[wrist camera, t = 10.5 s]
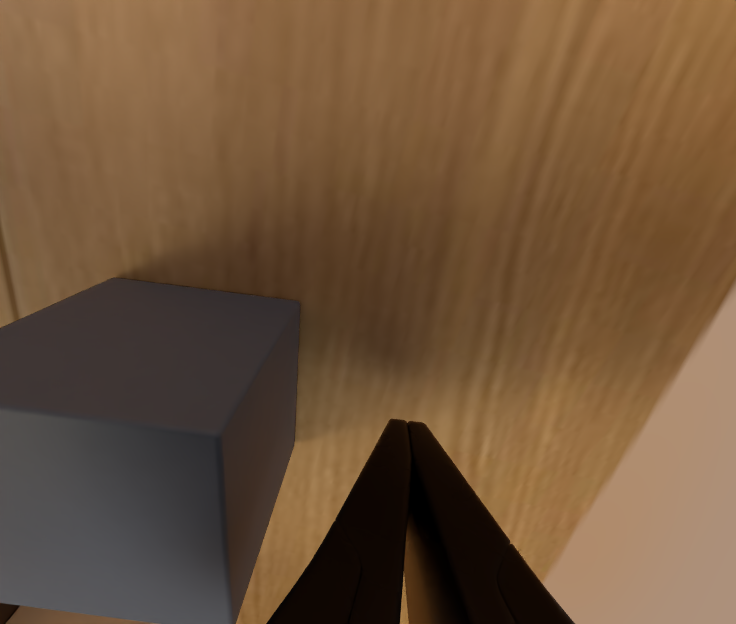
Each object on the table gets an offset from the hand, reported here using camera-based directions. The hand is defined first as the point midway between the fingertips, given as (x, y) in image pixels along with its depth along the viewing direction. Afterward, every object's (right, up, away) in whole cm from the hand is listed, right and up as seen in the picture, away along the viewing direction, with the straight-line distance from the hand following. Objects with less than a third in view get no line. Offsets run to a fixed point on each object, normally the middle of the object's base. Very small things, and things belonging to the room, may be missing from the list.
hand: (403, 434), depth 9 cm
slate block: (-5, +1, +2) cm, 6 cm away
